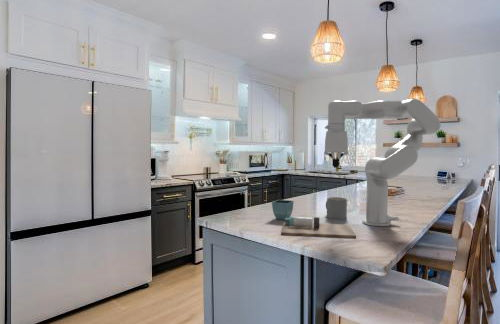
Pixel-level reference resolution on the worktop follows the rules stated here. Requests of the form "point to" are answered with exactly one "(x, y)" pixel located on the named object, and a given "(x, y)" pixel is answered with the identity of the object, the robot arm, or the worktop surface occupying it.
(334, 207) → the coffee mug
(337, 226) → the walnut board
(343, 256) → the worktop surface
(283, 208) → the flower pot
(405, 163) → the robot arm
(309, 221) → the swing bar
